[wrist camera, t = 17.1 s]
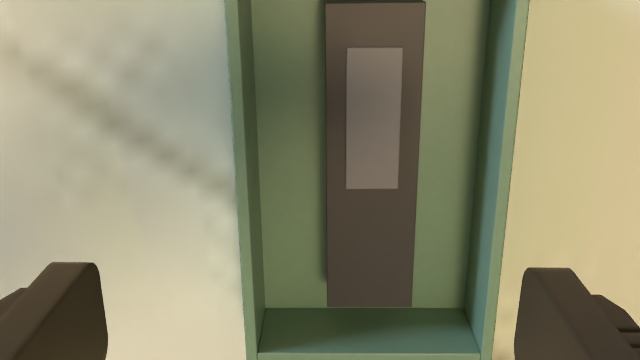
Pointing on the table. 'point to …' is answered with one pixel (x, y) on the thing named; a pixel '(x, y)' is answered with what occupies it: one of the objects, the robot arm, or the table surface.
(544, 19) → the table surface
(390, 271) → the block
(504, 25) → the bin
